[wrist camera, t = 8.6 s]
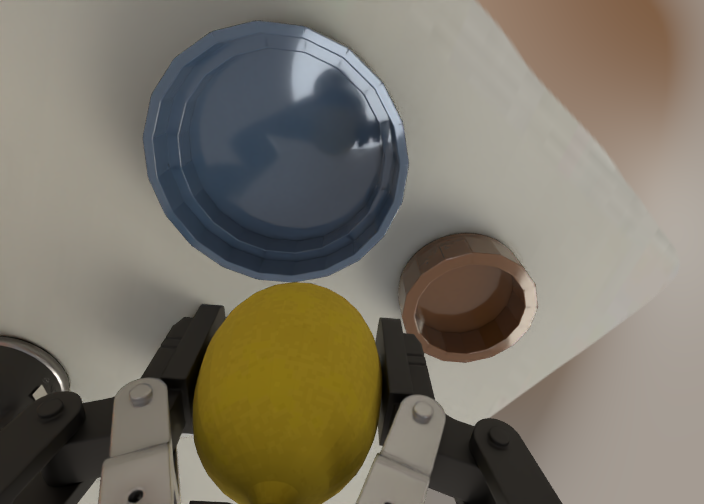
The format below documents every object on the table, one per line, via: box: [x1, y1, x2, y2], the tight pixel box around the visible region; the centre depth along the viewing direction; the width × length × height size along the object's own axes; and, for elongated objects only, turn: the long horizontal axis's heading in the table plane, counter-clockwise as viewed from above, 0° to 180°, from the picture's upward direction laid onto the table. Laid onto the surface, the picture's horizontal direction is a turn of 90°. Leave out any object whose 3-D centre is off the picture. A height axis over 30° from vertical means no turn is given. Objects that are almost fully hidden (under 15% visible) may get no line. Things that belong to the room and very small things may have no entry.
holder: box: [398, 233, 538, 363], centre depth 33 cm, size 10×10×4 cm
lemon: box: [193, 282, 382, 504], centre depth 12 cm, size 6×6×8 cm
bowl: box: [143, 20, 409, 282], centre depth 27 cm, size 16×16×4 cm
